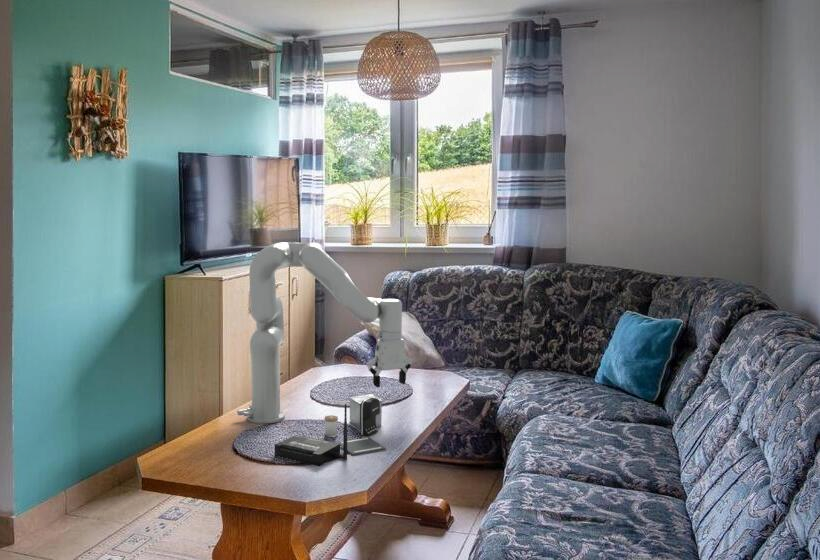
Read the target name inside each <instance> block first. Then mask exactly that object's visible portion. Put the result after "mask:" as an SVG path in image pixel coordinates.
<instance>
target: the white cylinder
mask: <svg viewBox="0 0 820 560" xmlns="http://www.w3.org/2000/svg"><path fill="white" fill-rule="evenodd" d="M338 420H339V417H338V415H334V414H332V415H325V416H324V436H325V435H327V436H335V435H337V436H338V422H339V421H338Z"/></svg>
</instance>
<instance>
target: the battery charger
mask: <svg viewBox="0 0 820 560" xmlns="http://www.w3.org/2000/svg"><path fill="white" fill-rule="evenodd" d="M378 414H380V402H379V400H378V399H376V398H372V397H371V398H367V399H365V400H363V401H362V402H361V405H360V429H359V431H360V432H359V435H361V436H365V437H370V436H372V435H374V434H376V433H377V432H379V430H378V426H376V415H378Z"/></svg>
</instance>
